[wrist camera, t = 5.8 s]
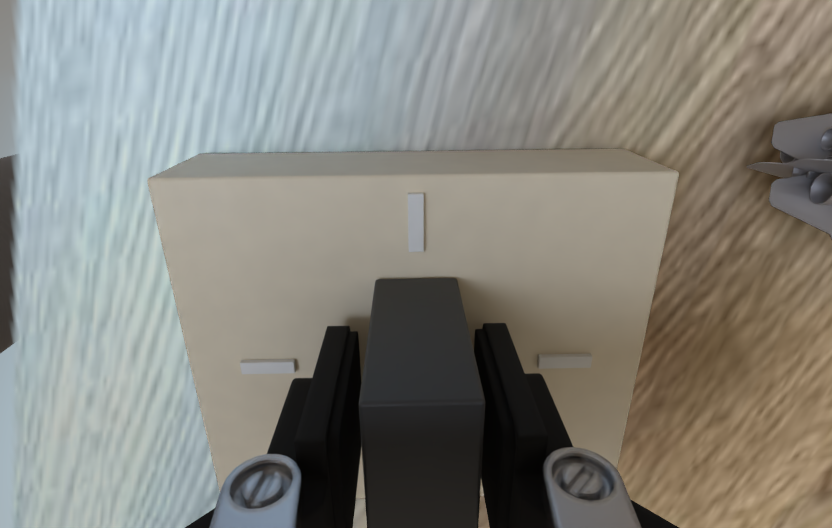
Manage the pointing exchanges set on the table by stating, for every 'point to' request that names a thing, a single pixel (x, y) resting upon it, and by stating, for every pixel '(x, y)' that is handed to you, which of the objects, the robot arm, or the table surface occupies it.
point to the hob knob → (421, 408)
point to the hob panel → (411, 269)
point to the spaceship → (803, 170)
